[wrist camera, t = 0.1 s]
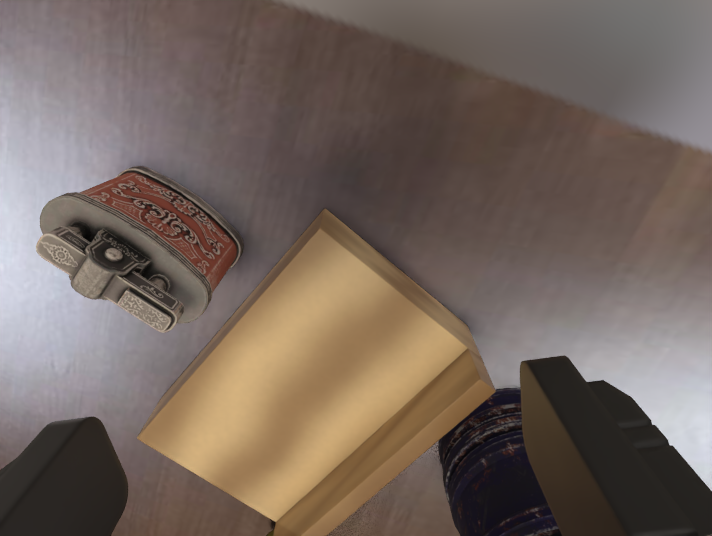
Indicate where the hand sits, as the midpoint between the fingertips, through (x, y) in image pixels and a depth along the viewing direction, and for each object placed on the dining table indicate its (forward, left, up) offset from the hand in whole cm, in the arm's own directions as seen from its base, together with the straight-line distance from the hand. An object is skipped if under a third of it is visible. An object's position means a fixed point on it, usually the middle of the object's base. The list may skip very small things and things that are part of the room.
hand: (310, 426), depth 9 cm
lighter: (-6, -8, -20) cm, 22 cm away
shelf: (+6, -11, -20) cm, 23 cm away
